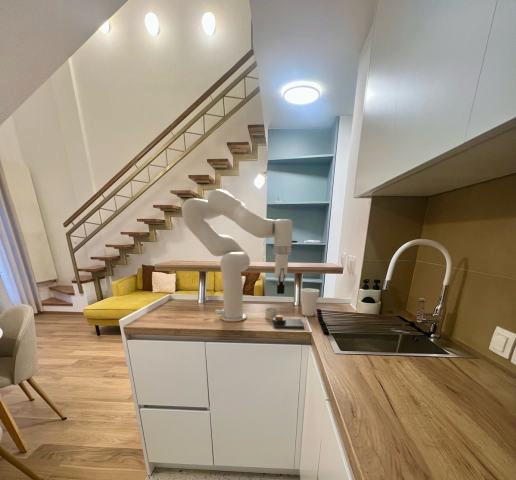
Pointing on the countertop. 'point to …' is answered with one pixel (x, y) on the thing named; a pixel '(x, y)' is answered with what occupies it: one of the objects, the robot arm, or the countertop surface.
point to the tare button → (279, 317)
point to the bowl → (271, 313)
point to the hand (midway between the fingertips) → (280, 293)
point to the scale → (288, 323)
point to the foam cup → (309, 300)
